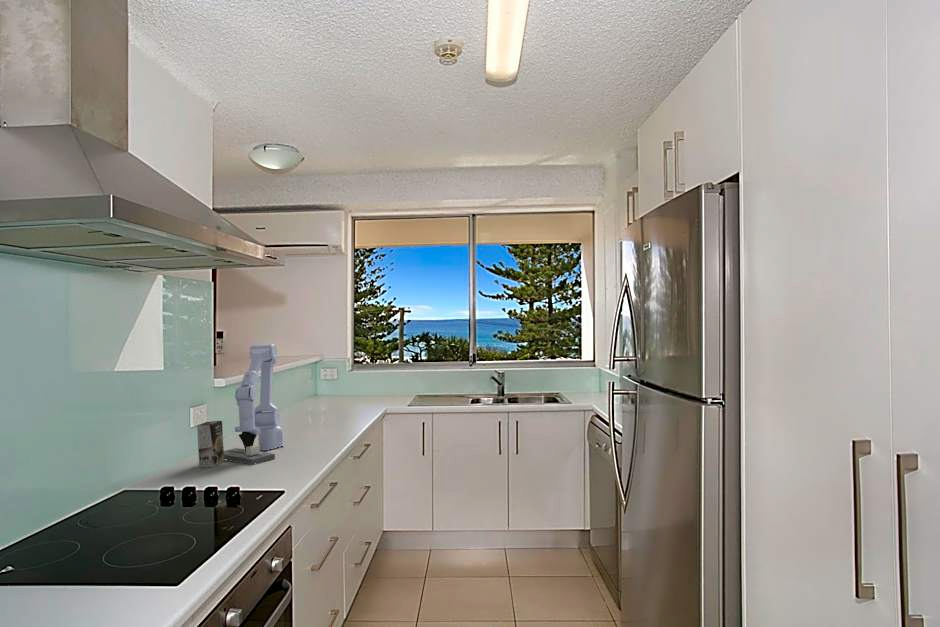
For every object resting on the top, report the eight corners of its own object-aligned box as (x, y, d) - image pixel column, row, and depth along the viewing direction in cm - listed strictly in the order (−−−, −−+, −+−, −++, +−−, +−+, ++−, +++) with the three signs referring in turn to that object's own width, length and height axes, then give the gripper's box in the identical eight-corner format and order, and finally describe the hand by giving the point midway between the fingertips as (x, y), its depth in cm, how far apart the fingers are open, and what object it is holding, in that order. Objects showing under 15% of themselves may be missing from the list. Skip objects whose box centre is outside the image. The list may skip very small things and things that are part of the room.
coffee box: (215, 467, 245) (213, 424, 245) (198, 468, 245) (196, 425, 245) (225, 461, 254) (222, 420, 254) (208, 462, 254) (206, 421, 254)
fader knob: (255, 452, 256) (255, 444, 256) (260, 453, 254) (259, 445, 254) (246, 454, 253) (245, 446, 253) (250, 455, 251) (250, 447, 251)
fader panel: (236, 452, 269) (236, 447, 269) (274, 458, 254) (274, 453, 254) (214, 457, 261) (214, 452, 261) (252, 464, 246) (252, 459, 246)
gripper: (227, 417, 256) (229, 451, 256) (248, 419, 248) (250, 455, 248) (243, 414, 262) (244, 447, 262) (264, 416, 253) (266, 451, 253)
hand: (248, 451), depth 255 cm, fingers closed
